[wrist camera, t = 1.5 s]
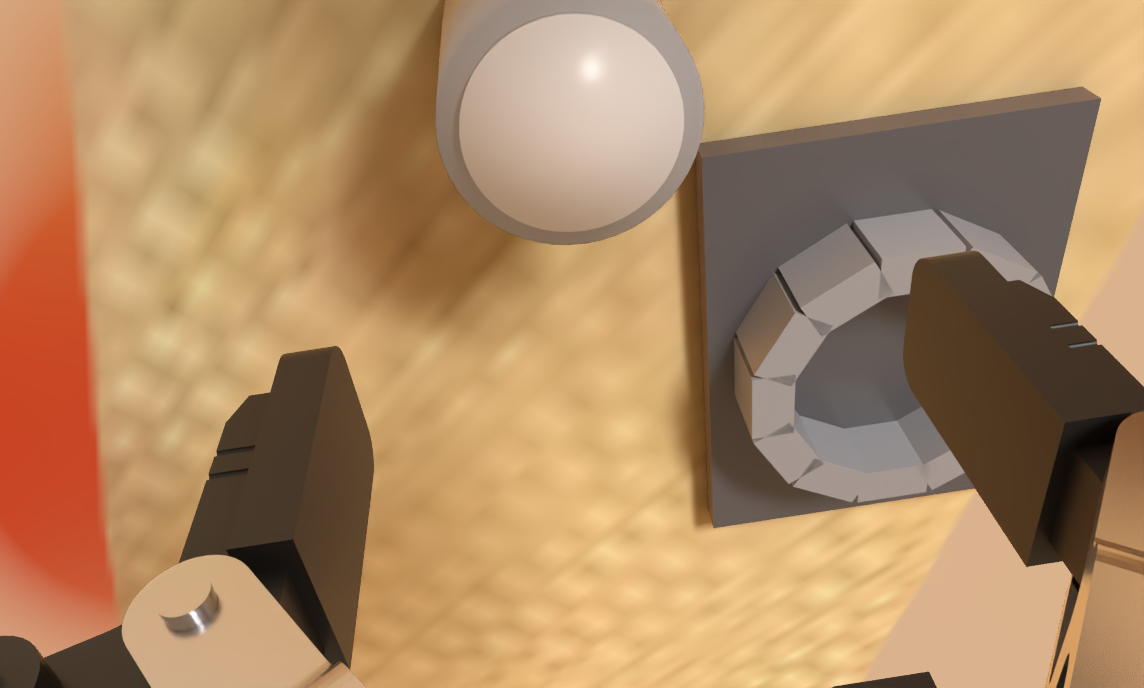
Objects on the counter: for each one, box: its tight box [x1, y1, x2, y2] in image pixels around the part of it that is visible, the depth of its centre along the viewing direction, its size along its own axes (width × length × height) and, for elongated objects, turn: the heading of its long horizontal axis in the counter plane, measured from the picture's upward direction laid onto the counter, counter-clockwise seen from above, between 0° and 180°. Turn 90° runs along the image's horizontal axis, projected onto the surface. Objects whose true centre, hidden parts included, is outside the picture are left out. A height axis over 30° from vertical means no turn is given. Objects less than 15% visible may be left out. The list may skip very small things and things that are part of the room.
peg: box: [435, 0, 704, 245], centre depth 22 cm, size 6×6×7 cm
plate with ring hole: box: [695, 87, 1101, 528], centre depth 31 cm, size 16×12×3 cm
